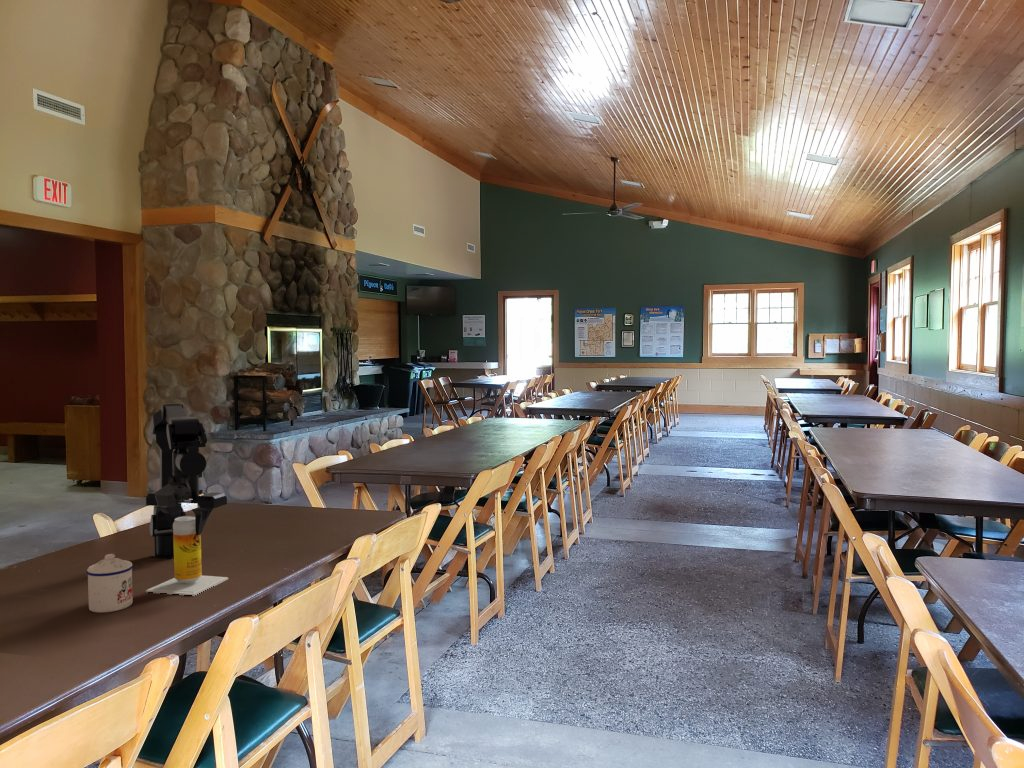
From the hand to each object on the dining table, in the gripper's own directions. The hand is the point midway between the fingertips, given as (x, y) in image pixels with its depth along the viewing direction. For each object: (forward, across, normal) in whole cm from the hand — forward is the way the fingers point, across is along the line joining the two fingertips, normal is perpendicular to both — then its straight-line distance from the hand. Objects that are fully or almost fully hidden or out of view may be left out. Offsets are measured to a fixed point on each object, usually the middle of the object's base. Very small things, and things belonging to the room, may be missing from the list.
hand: (187, 534), depth 177 cm
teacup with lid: (+13, -8, -15) cm, 21 cm away
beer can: (+11, 0, 0) cm, 11 cm away
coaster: (+13, 0, 0) cm, 13 cm away
